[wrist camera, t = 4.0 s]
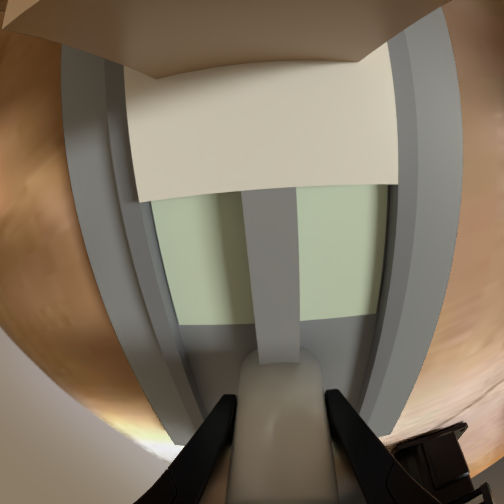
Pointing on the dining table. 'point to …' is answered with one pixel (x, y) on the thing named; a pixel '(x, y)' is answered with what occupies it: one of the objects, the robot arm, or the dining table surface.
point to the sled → (253, 167)
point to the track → (310, 248)
